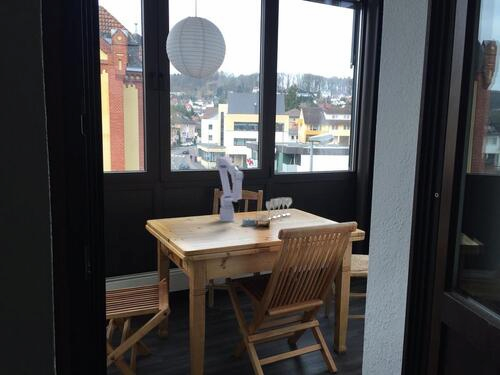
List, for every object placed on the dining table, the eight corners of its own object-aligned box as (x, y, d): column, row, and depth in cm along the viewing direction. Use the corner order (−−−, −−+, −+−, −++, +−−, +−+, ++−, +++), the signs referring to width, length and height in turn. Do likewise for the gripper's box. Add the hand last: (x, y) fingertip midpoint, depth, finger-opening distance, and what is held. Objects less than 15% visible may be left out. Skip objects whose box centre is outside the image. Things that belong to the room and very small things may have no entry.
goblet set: (270, 219, 289) (270, 200, 287) (263, 218, 293) (264, 199, 291) (293, 214, 310) (293, 196, 309) (286, 213, 314) (287, 195, 312)
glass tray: (244, 226, 265) (244, 220, 265) (242, 224, 270) (242, 218, 270) (255, 225, 267) (255, 219, 267) (252, 224, 272) (253, 218, 272)
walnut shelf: (256, 228, 261) (256, 220, 260) (256, 222, 278) (256, 215, 277) (269, 228, 261) (269, 220, 260) (268, 222, 278) (269, 215, 277)
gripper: (232, 188, 274) (232, 209, 275) (229, 191, 259) (228, 213, 261) (243, 188, 273) (242, 209, 275) (240, 191, 259) (240, 213, 260)
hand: (236, 211), depth 268 cm, fingers open, 7 cm apart
